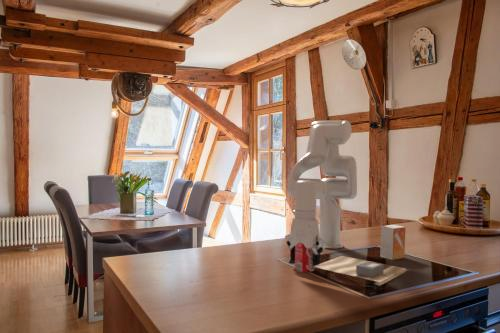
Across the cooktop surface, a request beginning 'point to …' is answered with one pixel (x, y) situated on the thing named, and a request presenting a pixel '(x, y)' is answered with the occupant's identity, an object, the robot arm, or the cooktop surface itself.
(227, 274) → the cooktop surface
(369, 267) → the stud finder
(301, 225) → the robot arm
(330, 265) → the plywood panel
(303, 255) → the soda can
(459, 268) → the cooktop surface
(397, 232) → the small box
